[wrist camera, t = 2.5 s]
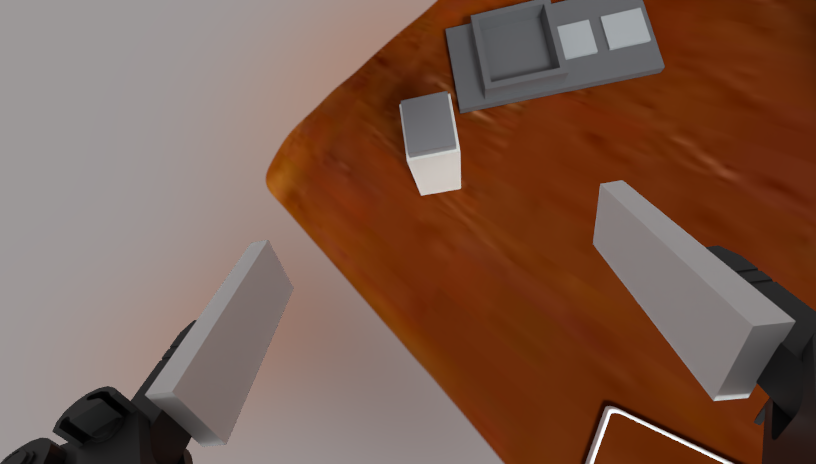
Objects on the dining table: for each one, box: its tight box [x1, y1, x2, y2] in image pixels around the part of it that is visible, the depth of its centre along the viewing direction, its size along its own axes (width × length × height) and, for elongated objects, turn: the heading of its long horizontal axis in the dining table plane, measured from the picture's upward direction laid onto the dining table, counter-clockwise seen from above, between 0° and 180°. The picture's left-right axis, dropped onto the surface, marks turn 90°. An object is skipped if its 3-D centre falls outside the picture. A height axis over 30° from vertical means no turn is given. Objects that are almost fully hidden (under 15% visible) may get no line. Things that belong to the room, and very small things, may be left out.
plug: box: [399, 91, 461, 196], centre depth 37 cm, size 5×6×12 cm
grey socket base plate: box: [446, 0, 665, 113], centre depth 42 cm, size 24×12×3 cm, turn 98°
